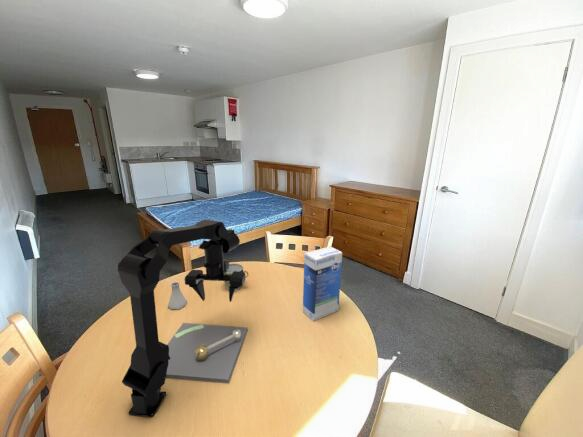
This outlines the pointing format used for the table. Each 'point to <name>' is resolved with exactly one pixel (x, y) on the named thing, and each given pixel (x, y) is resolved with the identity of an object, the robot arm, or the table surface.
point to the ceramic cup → (231, 269)
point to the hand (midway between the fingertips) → (217, 300)
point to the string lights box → (321, 282)
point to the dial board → (216, 363)
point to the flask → (176, 298)
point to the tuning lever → (216, 345)
